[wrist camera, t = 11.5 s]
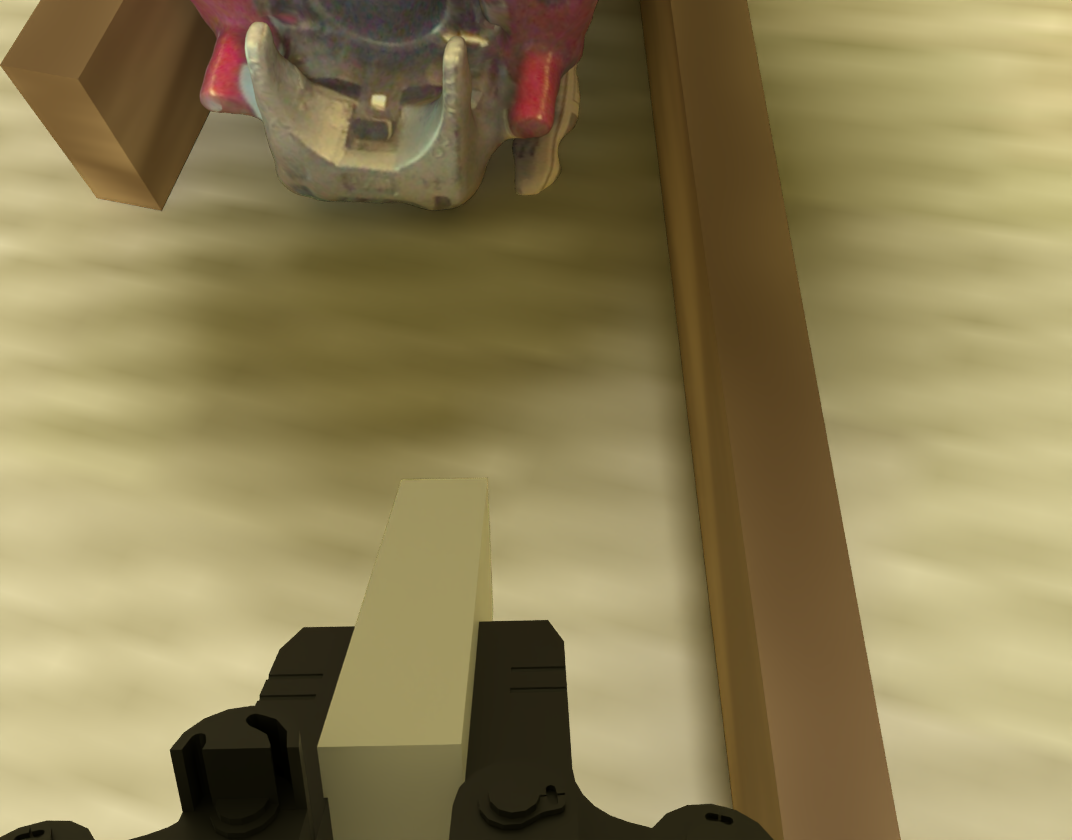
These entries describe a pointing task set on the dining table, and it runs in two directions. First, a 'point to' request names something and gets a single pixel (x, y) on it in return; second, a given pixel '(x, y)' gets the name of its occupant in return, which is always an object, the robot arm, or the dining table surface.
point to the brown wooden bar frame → (706, 354)
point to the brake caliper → (400, 90)
